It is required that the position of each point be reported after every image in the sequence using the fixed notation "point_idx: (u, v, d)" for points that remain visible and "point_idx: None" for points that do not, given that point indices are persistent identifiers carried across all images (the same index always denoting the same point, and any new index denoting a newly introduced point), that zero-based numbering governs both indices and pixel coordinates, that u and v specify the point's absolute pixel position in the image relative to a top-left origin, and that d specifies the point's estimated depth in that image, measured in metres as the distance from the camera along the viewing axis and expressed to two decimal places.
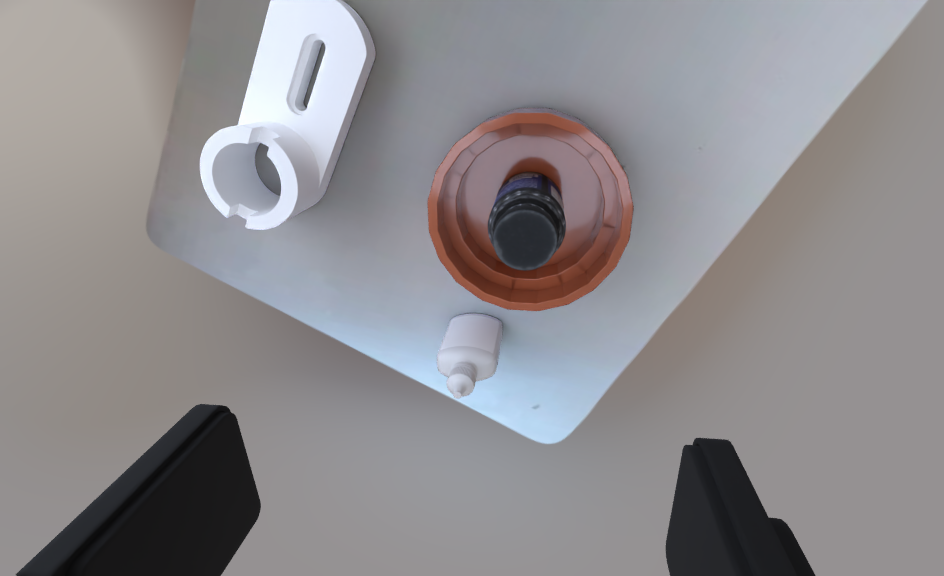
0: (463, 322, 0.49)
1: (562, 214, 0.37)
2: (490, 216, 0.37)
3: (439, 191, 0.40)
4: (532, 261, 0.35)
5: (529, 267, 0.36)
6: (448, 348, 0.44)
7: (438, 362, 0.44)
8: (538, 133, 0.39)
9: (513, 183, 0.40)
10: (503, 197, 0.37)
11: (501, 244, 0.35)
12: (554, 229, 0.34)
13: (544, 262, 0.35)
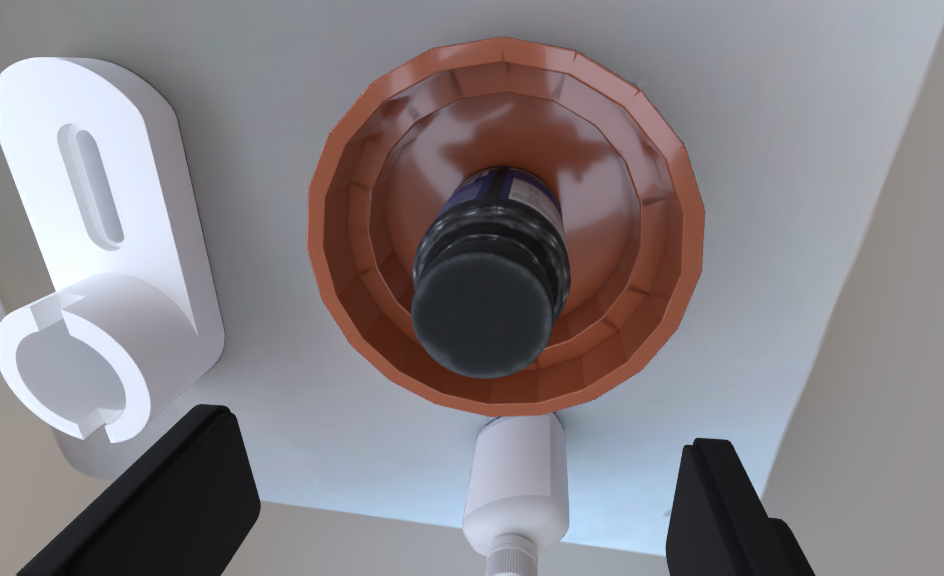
0: (493, 441, 0.29)
1: (543, 226, 0.17)
2: (414, 289, 0.19)
3: (330, 276, 0.22)
4: (517, 353, 0.16)
5: (517, 365, 0.16)
6: (475, 511, 0.25)
7: (468, 540, 0.25)
8: (448, 100, 0.21)
9: None
10: (419, 245, 0.18)
11: (439, 345, 0.16)
12: (528, 272, 0.15)
13: (542, 344, 0.16)
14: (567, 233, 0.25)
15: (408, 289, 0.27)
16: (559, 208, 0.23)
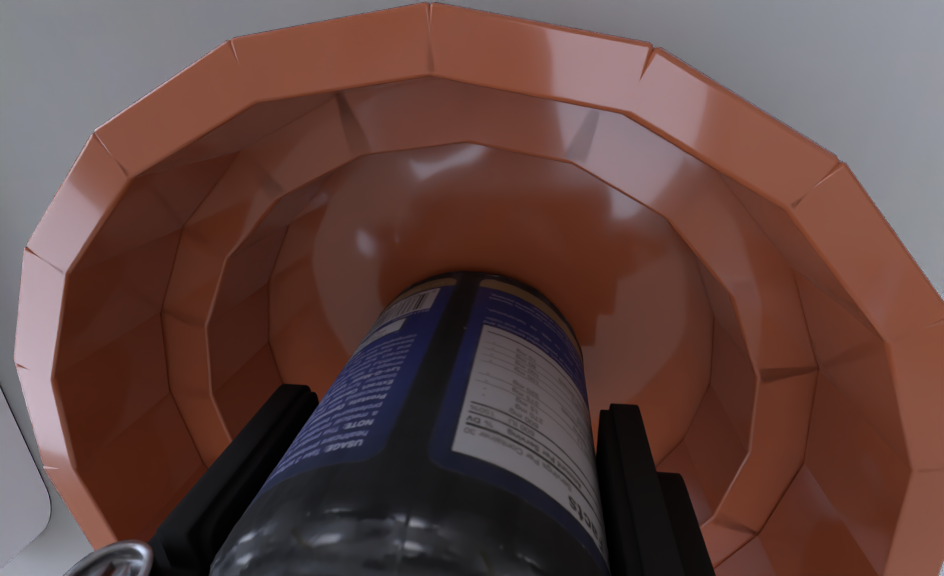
0: None
1: (547, 574, 0.06)
2: None
3: (102, 519, 0.11)
4: None
5: None
6: None
7: None
8: (339, 159, 0.09)
9: (328, 391, 0.10)
10: None
11: None
12: None
13: None
14: (591, 383, 0.14)
15: None
16: (579, 364, 0.12)
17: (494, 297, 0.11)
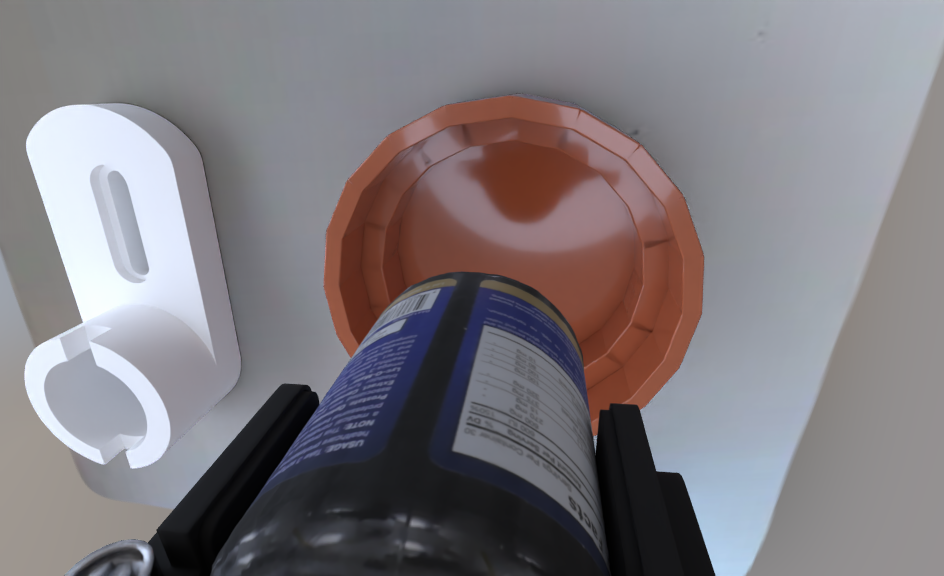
0: None
1: (547, 574, 0.06)
2: None
3: (345, 313, 0.23)
4: None
5: None
6: None
7: None
8: (459, 148, 0.22)
9: (329, 391, 0.10)
10: None
11: None
12: None
13: None
14: (573, 269, 0.26)
15: None
16: (579, 364, 0.12)
17: (494, 298, 0.11)
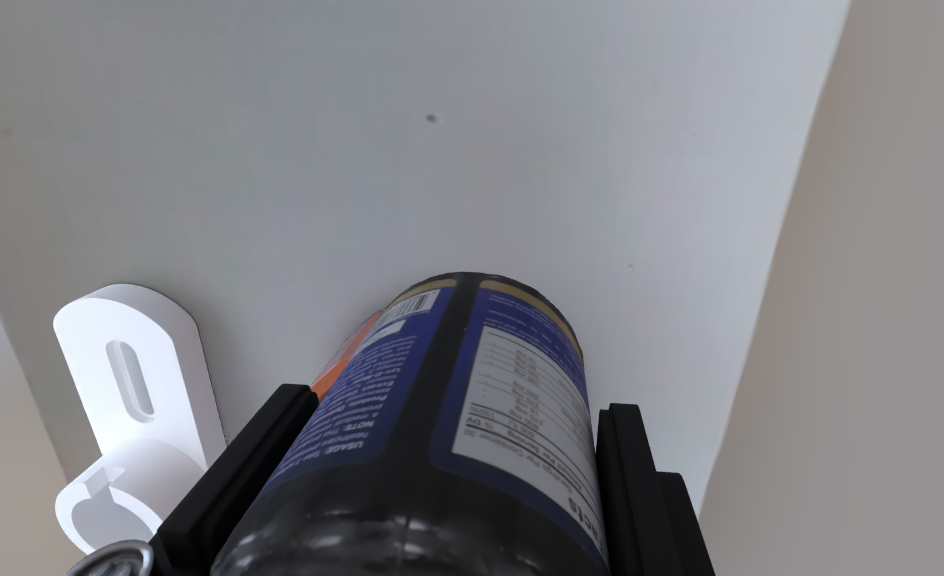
0: None
1: None
2: None
3: None
4: None
5: None
6: None
7: None
8: None
9: (329, 392, 0.10)
10: None
11: None
12: None
13: None
14: None
15: None
16: (580, 365, 0.12)
17: (494, 298, 0.11)
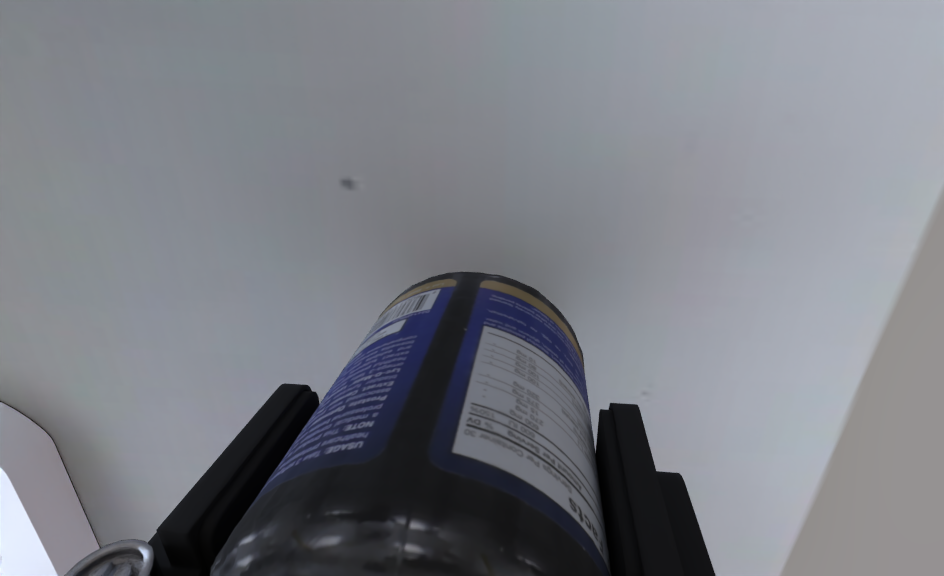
0: None
1: None
2: None
3: None
4: None
5: None
6: None
7: None
8: None
9: (329, 392, 0.10)
10: None
11: None
12: None
13: None
14: None
15: None
16: (580, 365, 0.12)
17: (494, 298, 0.11)
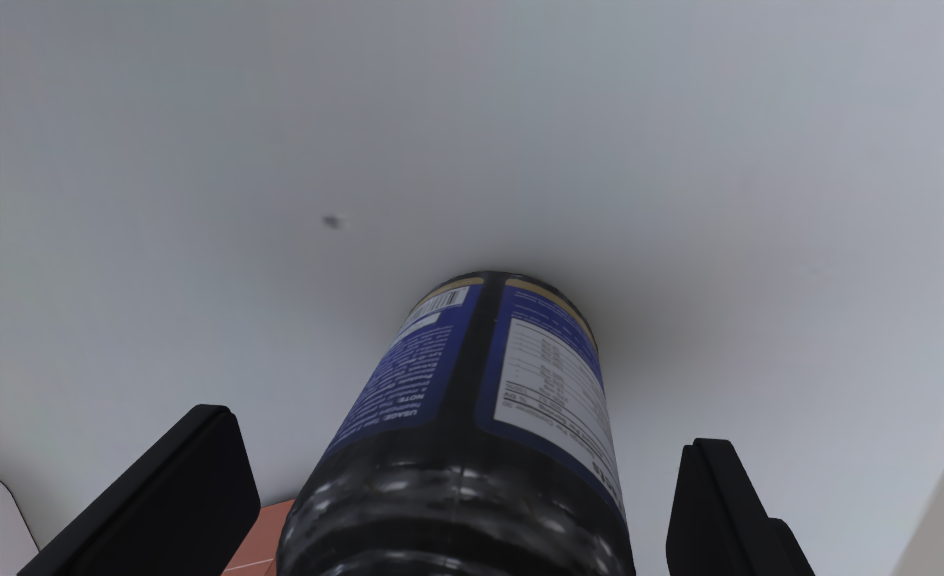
0: None
1: (577, 519, 0.07)
2: None
3: None
4: None
5: None
6: None
7: None
8: None
9: (373, 375, 0.11)
10: (287, 518, 0.08)
11: None
12: None
13: None
14: None
15: None
16: (596, 356, 0.13)
17: (519, 294, 0.12)
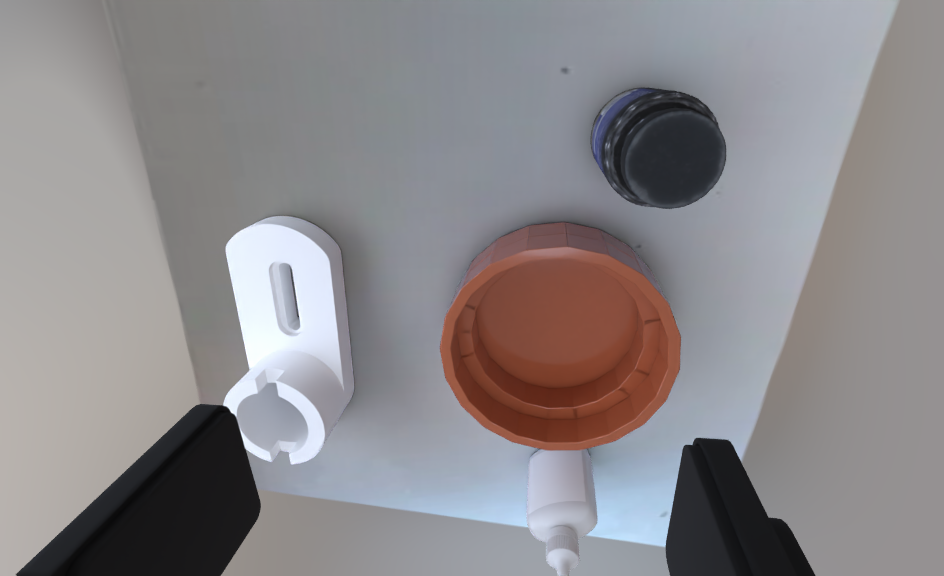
0: (542, 464, 0.43)
1: (706, 107, 0.25)
2: (604, 159, 0.26)
3: (452, 365, 0.36)
4: (696, 186, 0.23)
5: (696, 196, 0.24)
6: (535, 511, 0.39)
7: (531, 530, 0.39)
8: (528, 262, 0.35)
9: (612, 109, 0.29)
10: (612, 125, 0.26)
11: (642, 182, 0.24)
12: (713, 123, 0.22)
13: (716, 178, 0.23)
14: (596, 330, 0.39)
15: (489, 363, 0.41)
16: None
17: None
